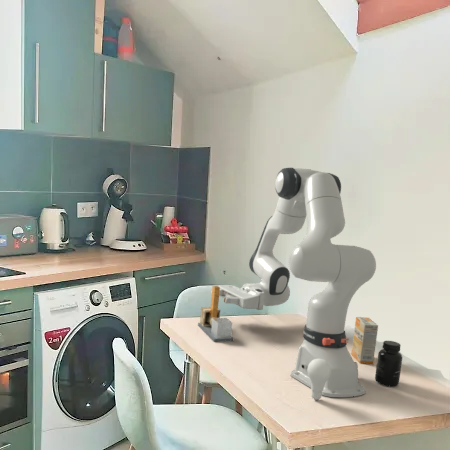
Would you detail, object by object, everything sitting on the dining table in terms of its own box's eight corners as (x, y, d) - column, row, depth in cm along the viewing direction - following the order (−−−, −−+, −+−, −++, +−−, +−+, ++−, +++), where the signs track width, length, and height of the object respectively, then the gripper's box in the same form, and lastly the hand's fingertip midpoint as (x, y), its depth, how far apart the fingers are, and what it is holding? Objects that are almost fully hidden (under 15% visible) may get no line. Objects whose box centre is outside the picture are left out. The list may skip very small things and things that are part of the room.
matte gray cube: (231, 338, 177) (232, 322, 177) (216, 338, 176) (218, 323, 175) (225, 332, 183) (226, 317, 182) (211, 333, 181) (212, 318, 180)
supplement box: (350, 354, 176) (355, 316, 174) (364, 355, 176) (369, 317, 175) (359, 363, 168) (364, 323, 166) (373, 364, 168) (378, 324, 167)
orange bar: (223, 331, 182) (227, 291, 180) (214, 331, 181) (217, 291, 179) (214, 322, 191) (217, 284, 190) (205, 322, 190) (208, 284, 188)
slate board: (233, 341, 178) (233, 338, 178) (213, 341, 175) (214, 339, 175) (215, 325, 194) (216, 322, 194) (197, 325, 192) (198, 322, 192)
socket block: (218, 326, 190) (220, 310, 189) (203, 326, 188) (204, 310, 187) (215, 322, 194) (216, 306, 193) (199, 323, 191) (201, 307, 191)
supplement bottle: (400, 389, 150) (405, 348, 149) (375, 385, 151) (380, 344, 150) (397, 380, 157) (402, 341, 155) (373, 376, 158) (378, 337, 157)
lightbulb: (325, 406, 134) (330, 365, 132) (302, 401, 136) (306, 360, 134) (329, 397, 139) (333, 357, 138) (306, 392, 141) (310, 353, 140)
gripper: (236, 280, 203) (205, 281, 196) (266, 293, 186) (233, 295, 179) (234, 296, 204) (203, 298, 197) (265, 311, 186) (232, 313, 179)
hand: (218, 297), depth 187 cm, fingers open, 8 cm apart
